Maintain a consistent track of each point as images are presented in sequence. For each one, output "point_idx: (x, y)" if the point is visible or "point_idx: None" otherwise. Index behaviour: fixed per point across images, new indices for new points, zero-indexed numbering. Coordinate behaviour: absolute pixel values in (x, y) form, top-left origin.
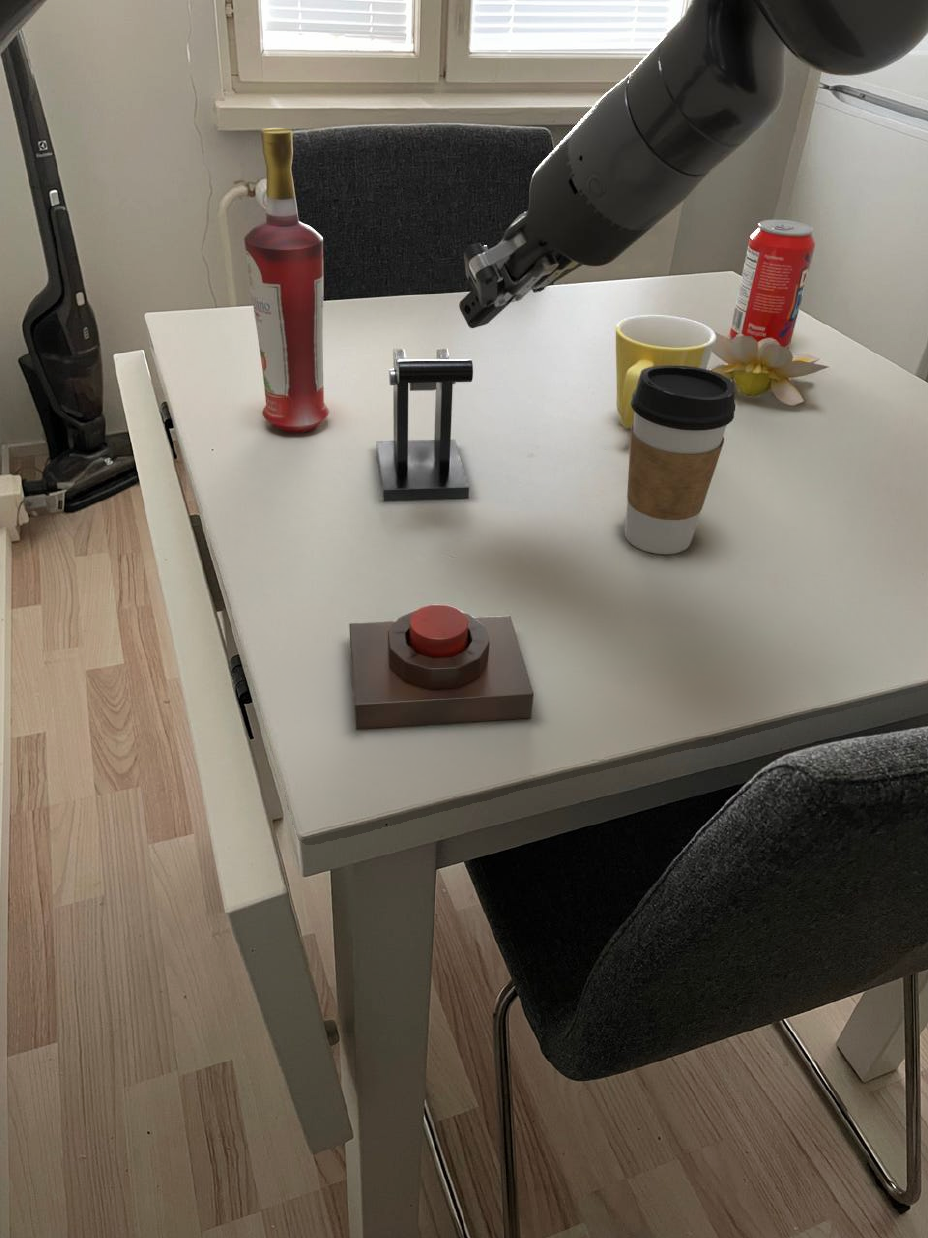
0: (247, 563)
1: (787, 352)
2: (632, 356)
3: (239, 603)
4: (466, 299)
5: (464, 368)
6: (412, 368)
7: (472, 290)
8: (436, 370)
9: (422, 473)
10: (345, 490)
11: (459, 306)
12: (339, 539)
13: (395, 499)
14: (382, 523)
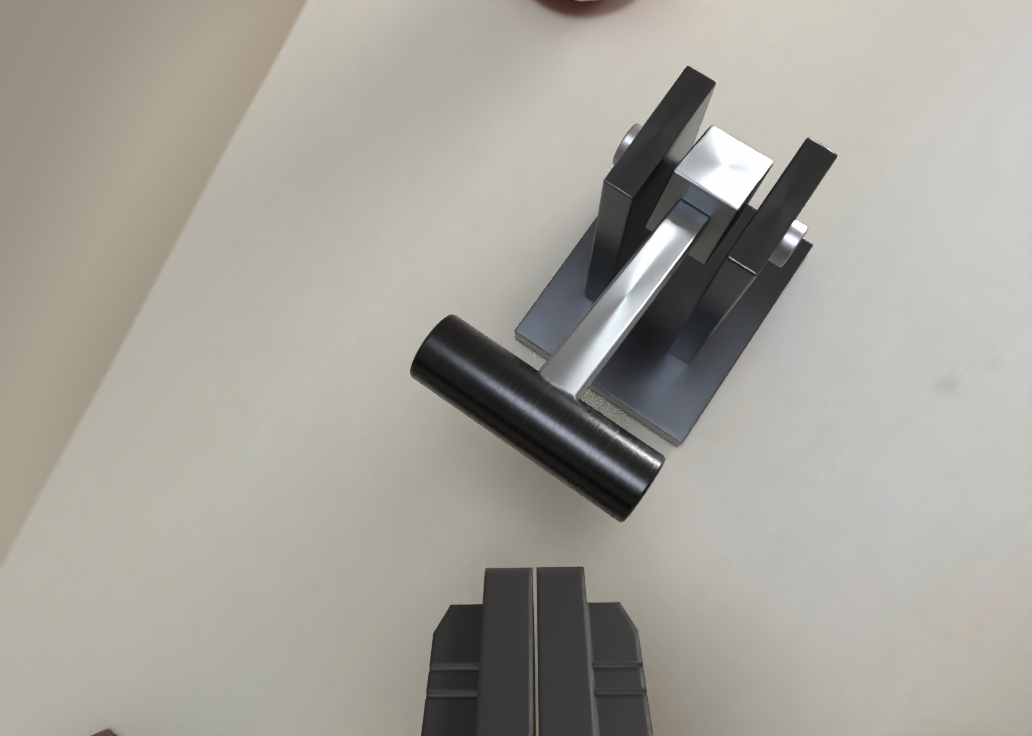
0: (152, 363)
1: None
2: None
3: (56, 468)
4: (428, 683)
5: (601, 498)
6: (448, 391)
7: (480, 676)
8: (515, 443)
9: (635, 326)
10: (480, 252)
11: (450, 607)
12: (342, 404)
13: (536, 352)
14: (453, 409)
